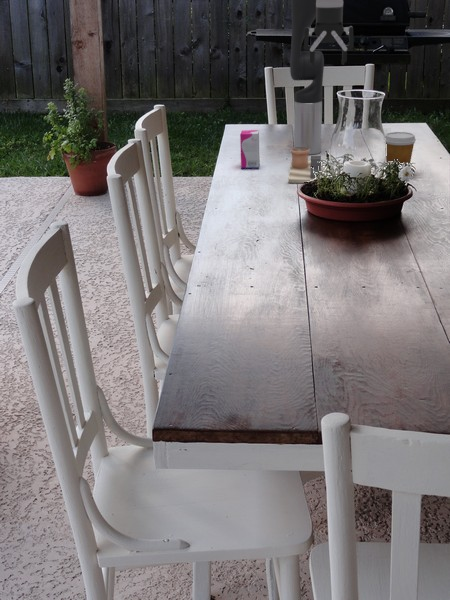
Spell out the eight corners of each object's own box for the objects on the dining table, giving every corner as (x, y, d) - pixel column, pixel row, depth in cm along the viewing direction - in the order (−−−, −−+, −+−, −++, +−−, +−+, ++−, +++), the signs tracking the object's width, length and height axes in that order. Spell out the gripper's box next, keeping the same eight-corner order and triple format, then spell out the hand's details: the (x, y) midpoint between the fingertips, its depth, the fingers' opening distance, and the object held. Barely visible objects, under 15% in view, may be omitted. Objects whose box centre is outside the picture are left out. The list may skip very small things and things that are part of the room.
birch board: (291, 162, 260) (291, 141, 257) (322, 162, 258) (322, 141, 256) (288, 182, 238) (288, 159, 235) (322, 182, 237) (322, 159, 234)
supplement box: (259, 164, 259) (259, 129, 254) (258, 169, 254) (258, 133, 249) (242, 164, 260) (241, 129, 255) (240, 169, 254) (240, 133, 250)
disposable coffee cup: (414, 170, 247) (417, 132, 242) (412, 178, 239) (415, 139, 234) (383, 169, 250) (385, 131, 245) (380, 177, 241) (382, 138, 236)
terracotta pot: (290, 164, 254) (290, 146, 251) (309, 164, 253) (309, 146, 251) (290, 169, 248) (290, 151, 246) (309, 169, 248) (309, 151, 245)
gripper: (354, 3, 227) (352, 62, 234) (304, 4, 229) (303, 63, 235) (355, 5, 220) (353, 66, 227) (303, 6, 222) (303, 66, 229)
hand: (328, 64), depth 231 cm, fingers open, 8 cm apart
